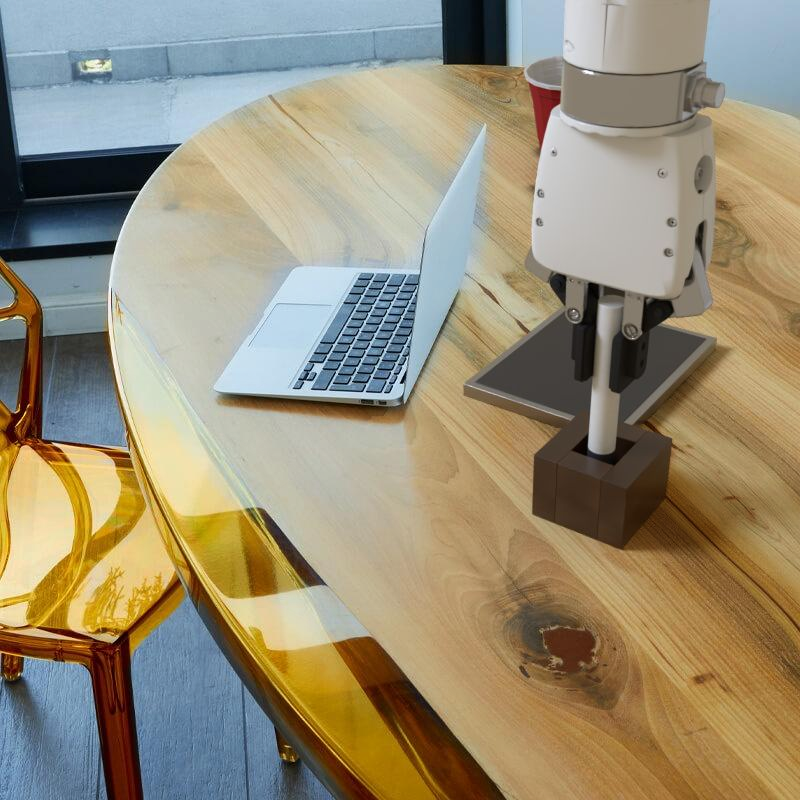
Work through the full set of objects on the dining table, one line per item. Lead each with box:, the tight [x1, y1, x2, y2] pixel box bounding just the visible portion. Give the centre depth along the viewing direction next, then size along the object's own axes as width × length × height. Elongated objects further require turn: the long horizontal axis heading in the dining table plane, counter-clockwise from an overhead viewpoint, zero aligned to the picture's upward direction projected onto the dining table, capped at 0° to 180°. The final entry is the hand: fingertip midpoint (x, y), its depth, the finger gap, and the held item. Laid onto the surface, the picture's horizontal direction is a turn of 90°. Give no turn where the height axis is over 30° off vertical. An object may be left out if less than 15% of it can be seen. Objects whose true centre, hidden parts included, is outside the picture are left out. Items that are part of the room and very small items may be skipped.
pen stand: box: [531, 409, 674, 550], centre depth 73 cm, size 7×7×5 cm
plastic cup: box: [523, 55, 563, 155], centre depth 129 cm, size 11×11×12 cm
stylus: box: [587, 295, 625, 465], centre depth 69 cm, size 2×2×12 cm
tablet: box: [462, 305, 718, 430], centre depth 90 cm, size 14×18×1 cm
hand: (607, 376), depth 69 cm, fingers closed on stylus, 1 cm apart
